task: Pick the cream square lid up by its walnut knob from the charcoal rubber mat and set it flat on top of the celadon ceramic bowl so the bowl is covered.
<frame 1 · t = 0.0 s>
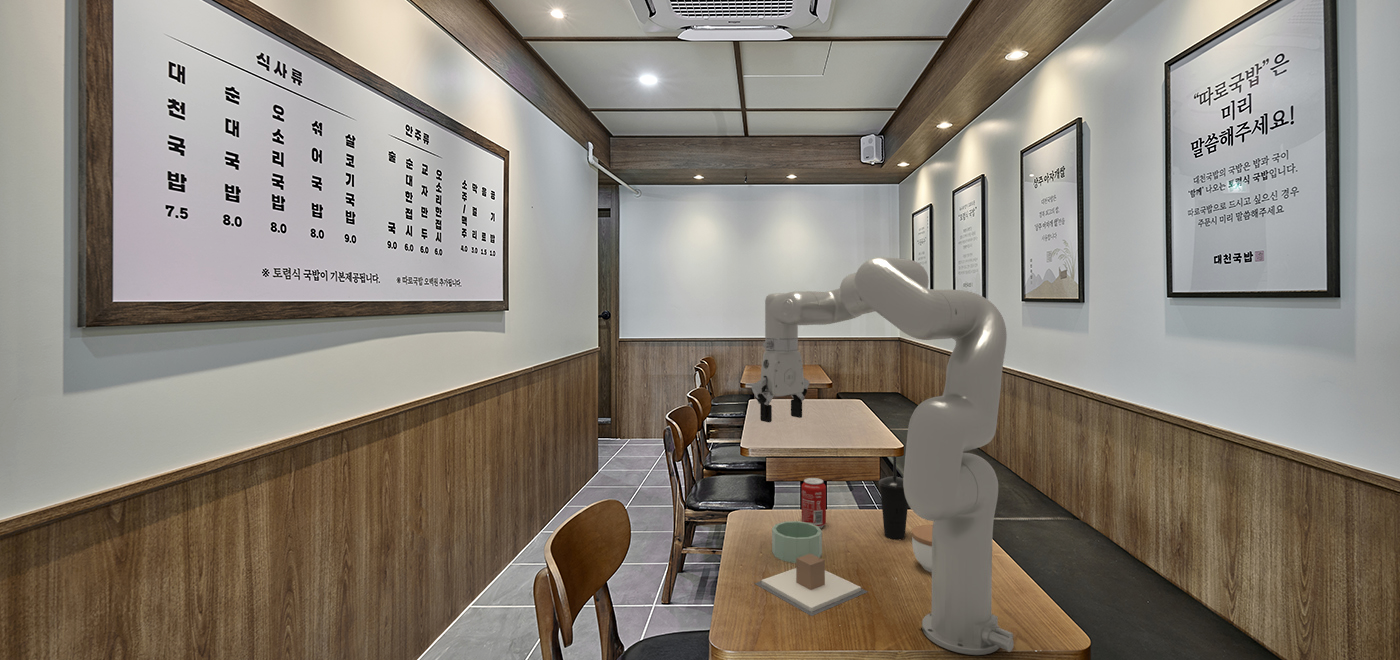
hand: (781, 419, 138), 31 cm above the table, tool pointing down, fingers open, 9 cm apart
bowl: (796, 555, 136), on the table
mat: (810, 590, 119), on the table
beverage can: (813, 526, 155), on the table
lid: (810, 587, 119), point 1 cm above the table, touching mat
drinking cup: (894, 537, 148), on the table
lidded jar: (937, 569, 129), on the table
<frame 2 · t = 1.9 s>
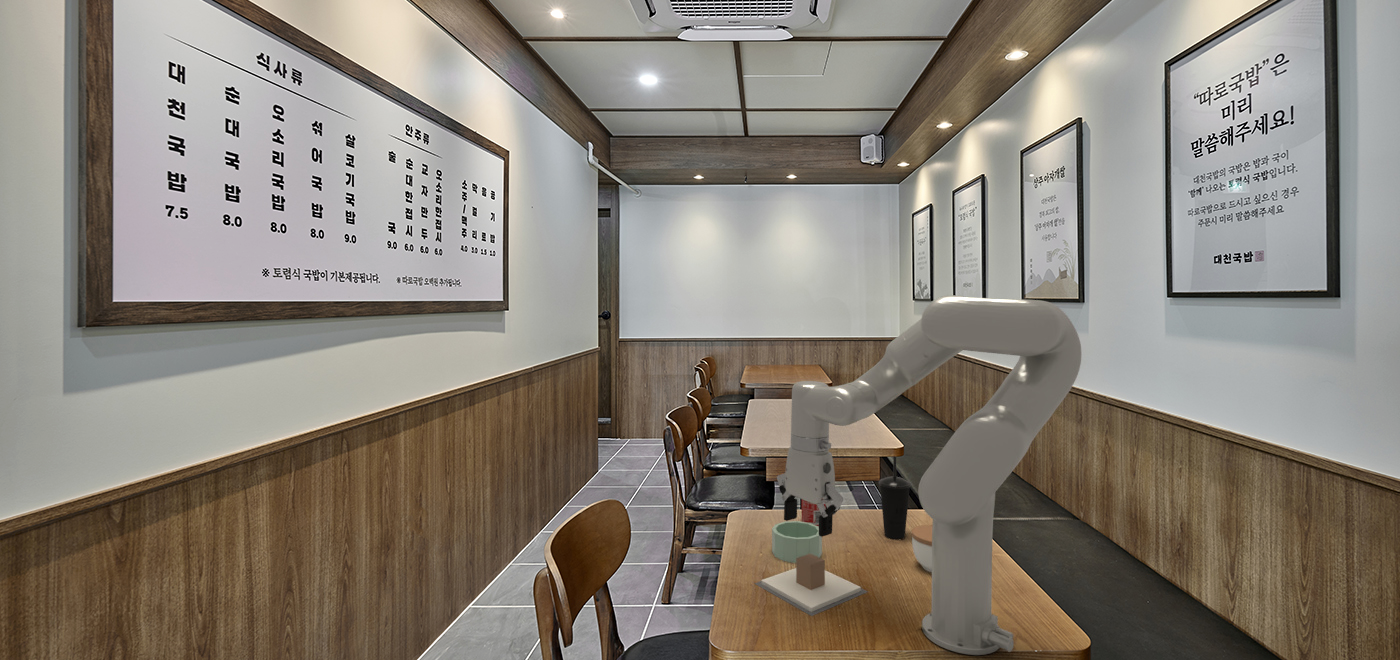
hand: (807, 526, 119), 13 cm above the table, tool pointing down, fingers open, 9 cm apart
nothing on the table moved.
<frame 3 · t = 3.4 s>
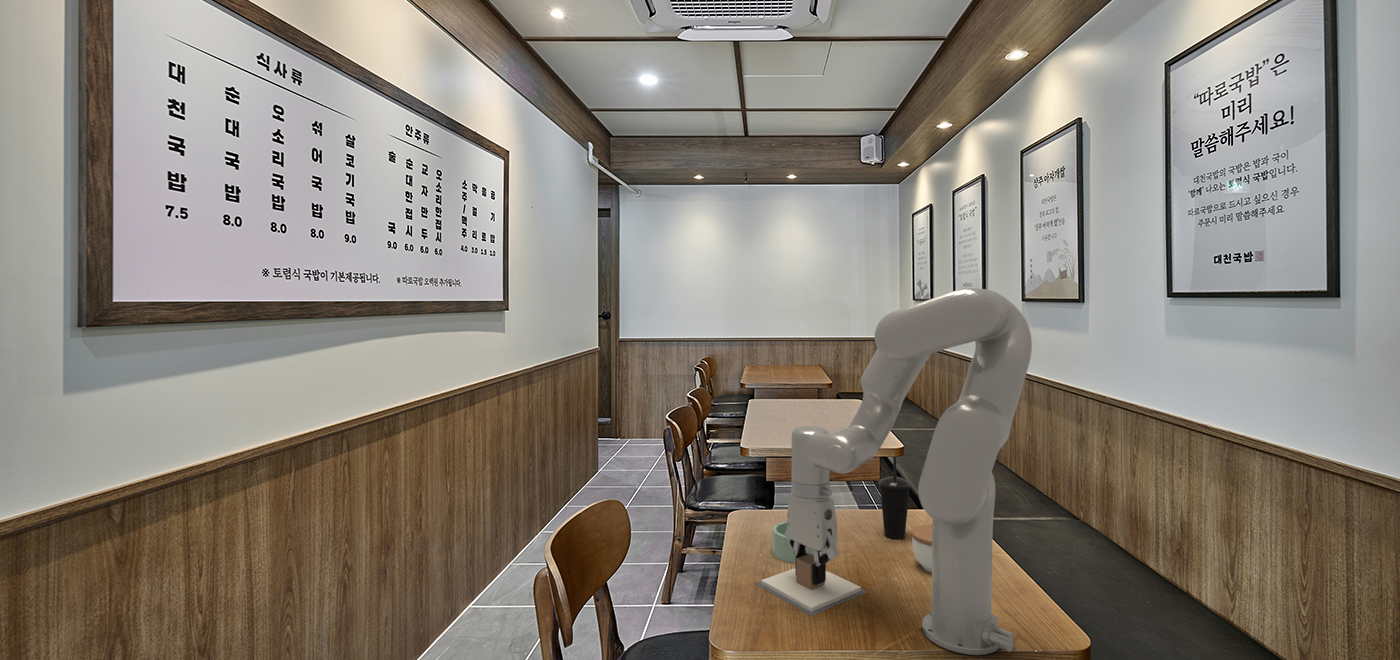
hand: (810, 577, 119), 3 cm above the table, tool pointing down, fingers closed on lid, 4 cm apart
lid: (810, 587, 119), point 1 cm above the table, touching gripper, mat
everything else where it was.
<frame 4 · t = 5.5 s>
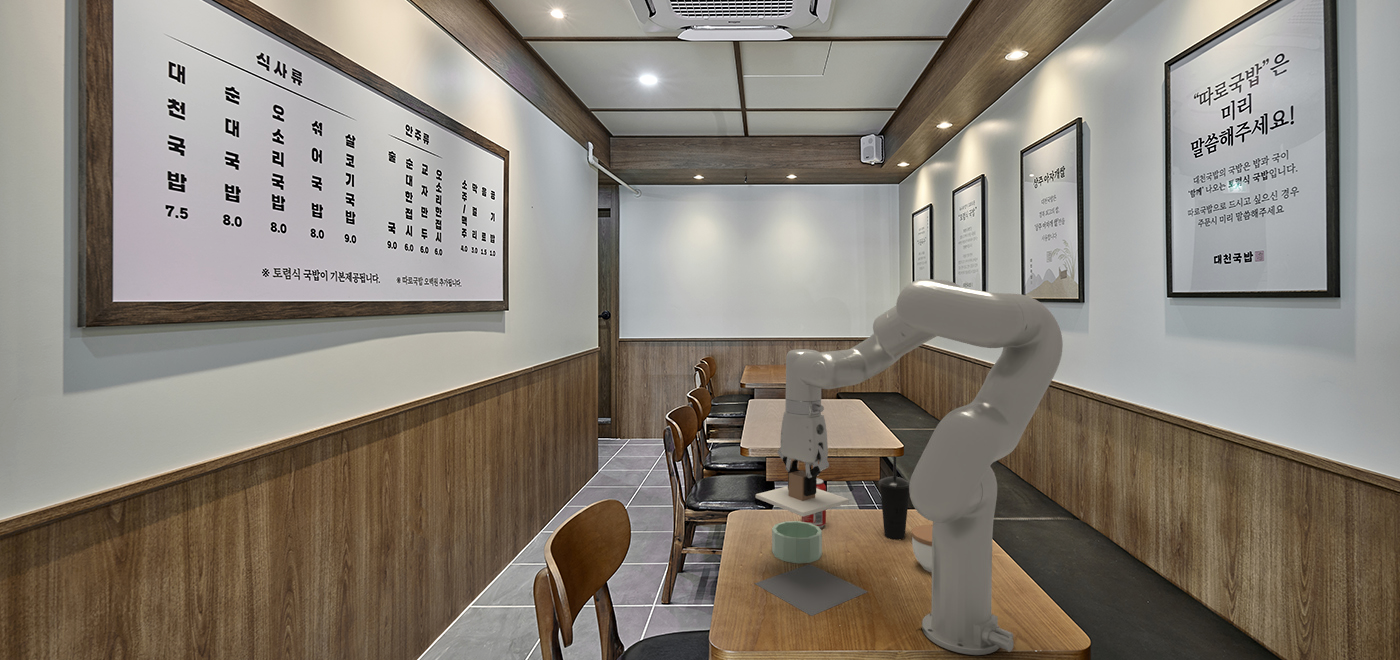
hand: (801, 491, 127), 18 cm above the table, tool pointing down, fingers closed on lid, 4 cm apart
lid: (801, 500, 127), point 16 cm above the table, touching gripper
everything else where it was.
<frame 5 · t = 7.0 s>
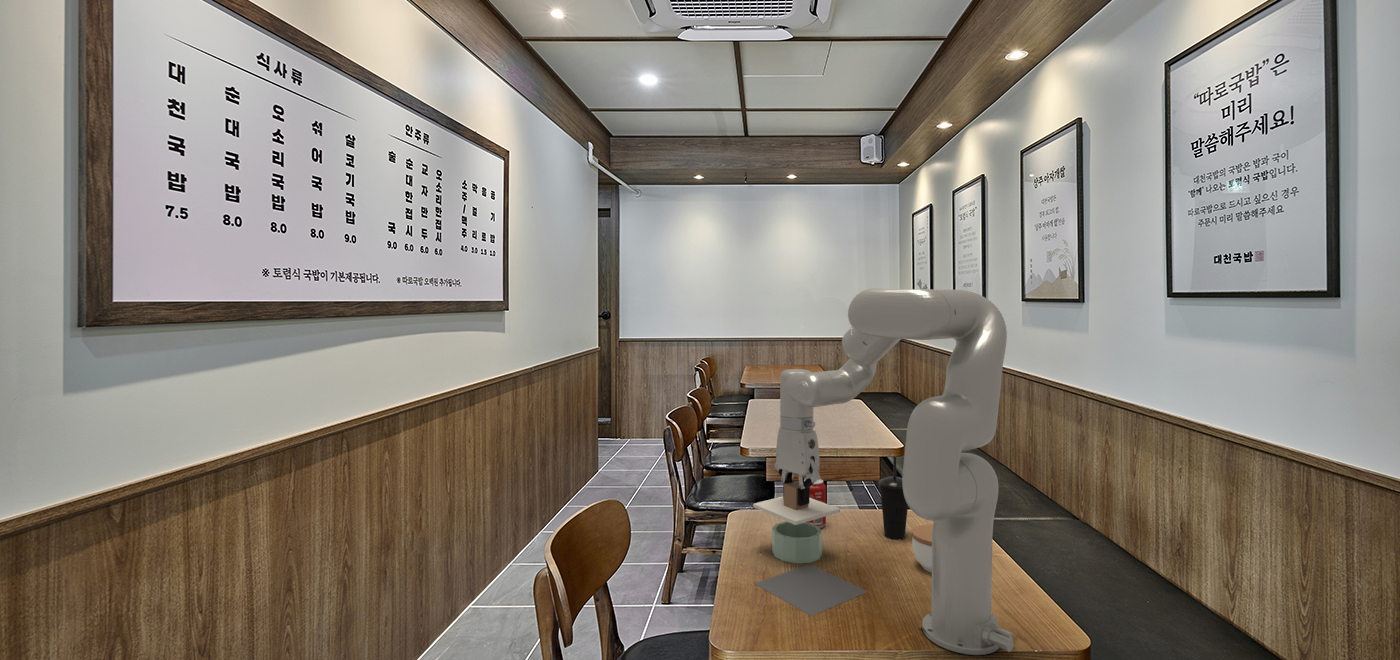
hand: (796, 501, 136), 13 cm above the table, tool pointing down, fingers closed on lid, 4 cm apart
lid: (795, 509, 136), point 11 cm above the table, touching gripper
everything else where it was.
when the fingers open (9 cm above the table, at t = 7.9 s): lid drops 1 cm, resting on bowl.
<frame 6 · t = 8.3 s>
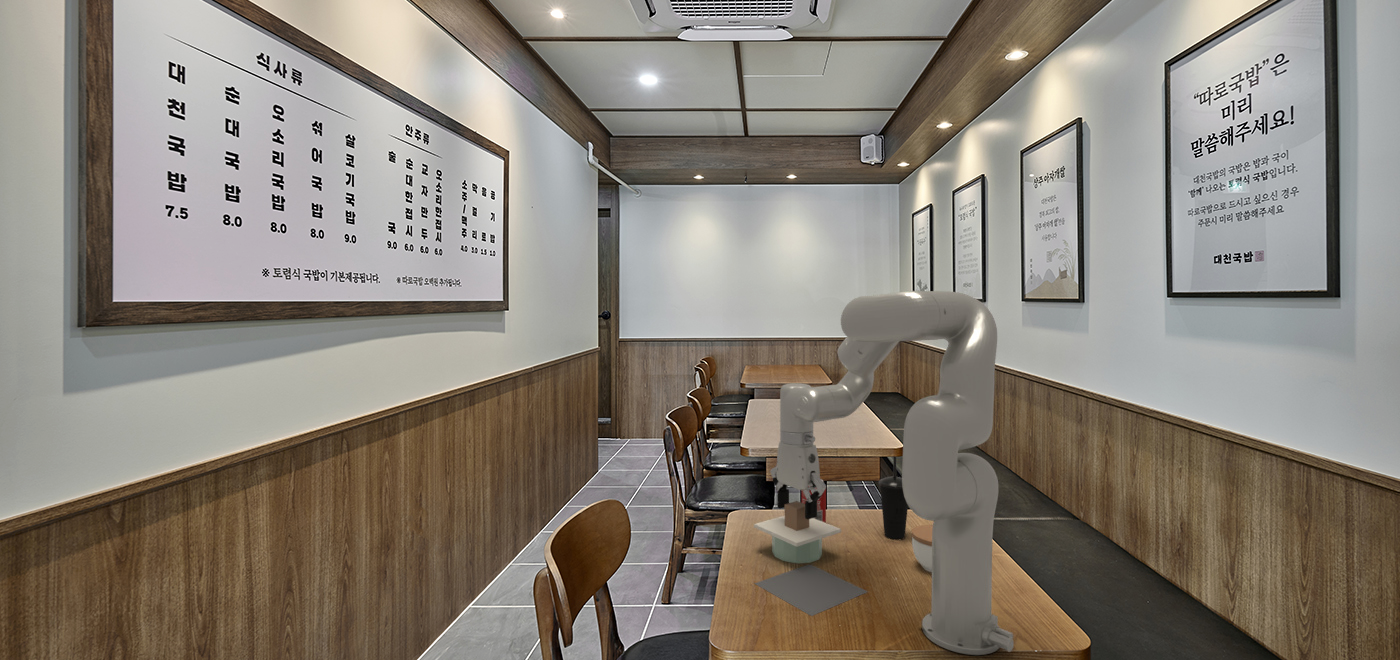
hand: (796, 512, 136), 10 cm above the table, tool pointing down, fingers open, 8 cm apart
bowl: (796, 555, 136), on the table, touching lid
lid: (796, 529, 136), point 6 cm above the table, touching bowl
everything else where it was.
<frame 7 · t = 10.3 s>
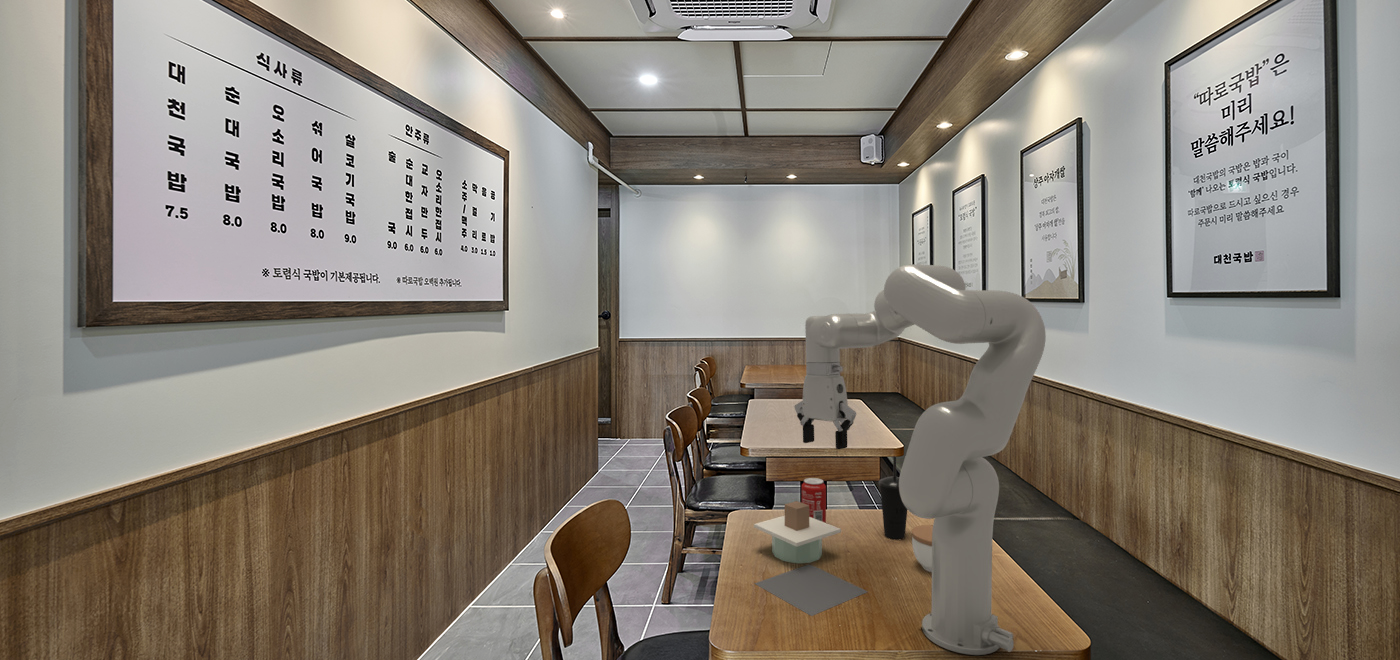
hand: (824, 445, 134), 26 cm above the table, tool pointing down, fingers open, 9 cm apart
nothing on the table moved.
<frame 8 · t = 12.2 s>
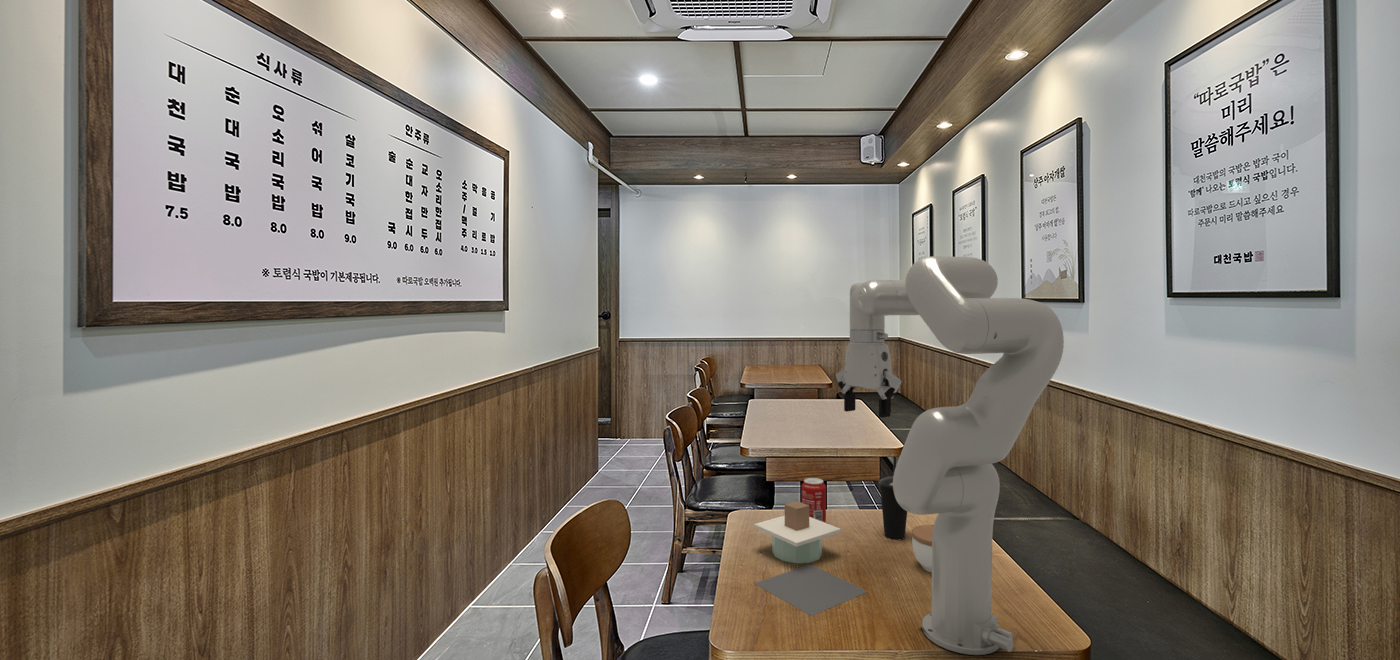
hand: (866, 413, 133), 33 cm above the table, tool pointing down, fingers open, 9 cm apart
nothing on the table moved.
at the end: lid 0.1 cm from the bowl (horizontally); lid point 6.0 cm above the table; lid tilted 0° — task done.
